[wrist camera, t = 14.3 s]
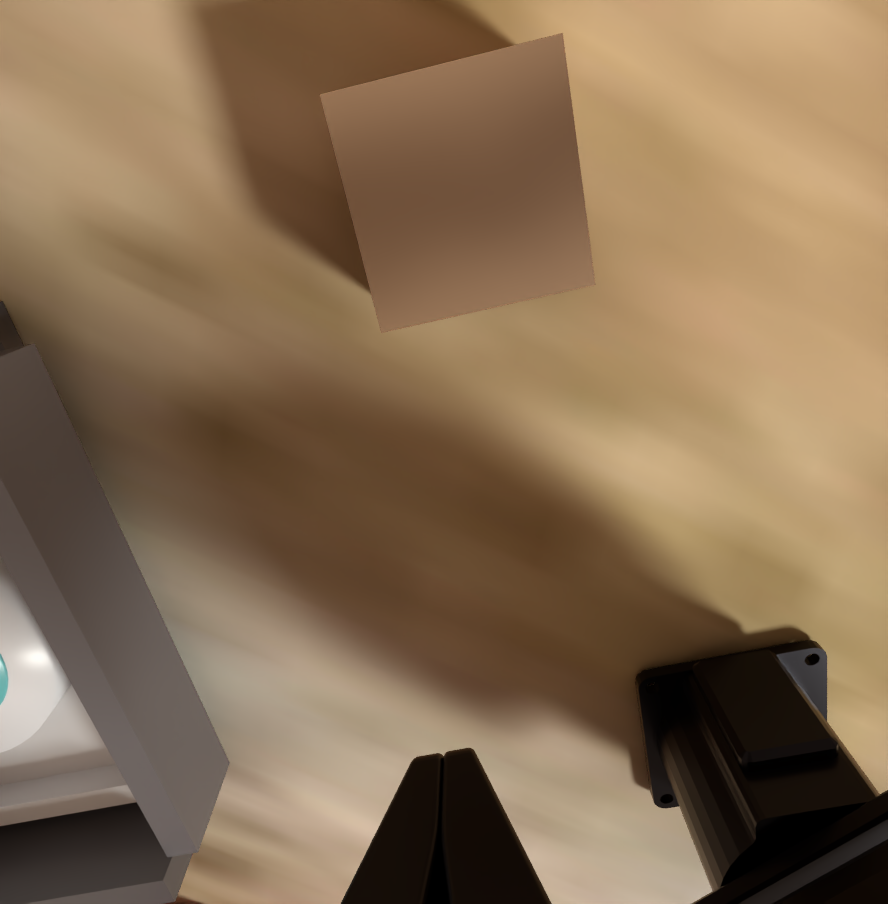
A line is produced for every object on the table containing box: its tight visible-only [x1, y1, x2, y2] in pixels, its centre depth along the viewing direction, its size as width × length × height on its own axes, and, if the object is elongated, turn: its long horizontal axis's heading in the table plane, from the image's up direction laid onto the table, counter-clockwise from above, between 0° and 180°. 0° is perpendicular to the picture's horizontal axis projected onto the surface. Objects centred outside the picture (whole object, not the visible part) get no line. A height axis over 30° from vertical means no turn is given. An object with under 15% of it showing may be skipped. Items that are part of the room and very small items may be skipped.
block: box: [319, 33, 595, 333], centre depth 16 cm, size 5×5×4 cm
